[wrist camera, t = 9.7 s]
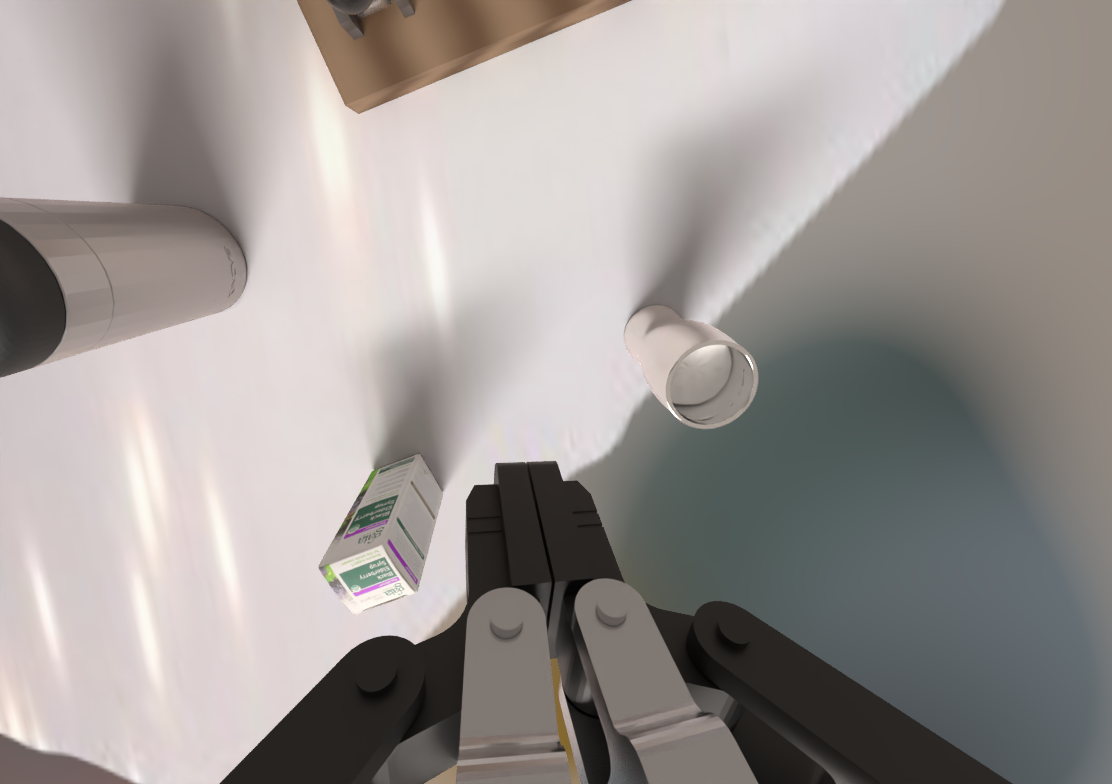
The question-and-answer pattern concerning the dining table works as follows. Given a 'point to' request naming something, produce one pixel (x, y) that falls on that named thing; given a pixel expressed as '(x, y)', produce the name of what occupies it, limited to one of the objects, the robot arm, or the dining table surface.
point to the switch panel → (429, 40)
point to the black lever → (359, 6)
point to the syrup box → (384, 536)
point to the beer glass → (691, 367)
